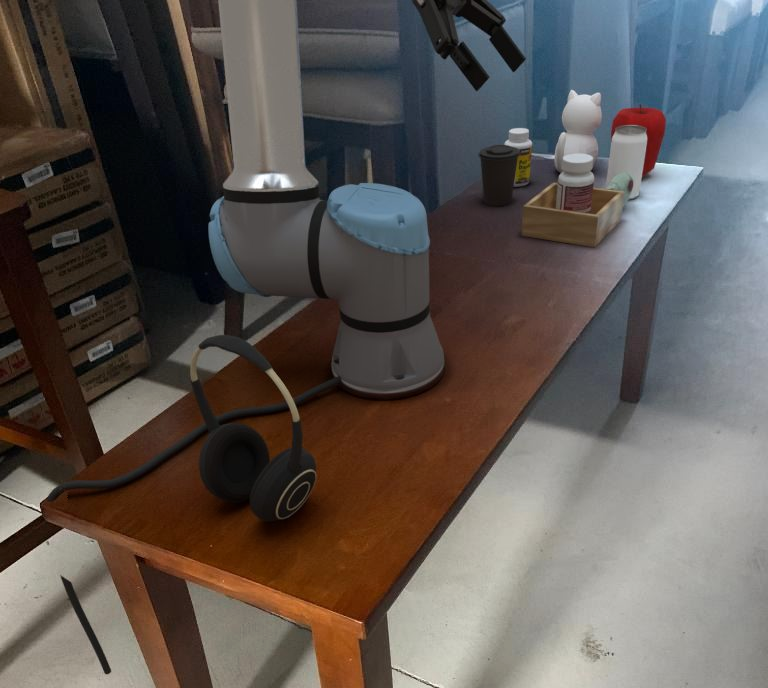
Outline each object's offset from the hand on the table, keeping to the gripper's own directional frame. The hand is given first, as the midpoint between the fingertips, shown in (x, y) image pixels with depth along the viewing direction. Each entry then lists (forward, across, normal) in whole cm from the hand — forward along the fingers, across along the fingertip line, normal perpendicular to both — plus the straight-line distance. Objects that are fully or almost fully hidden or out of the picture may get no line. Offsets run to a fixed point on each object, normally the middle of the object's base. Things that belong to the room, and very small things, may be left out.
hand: (502, 75), depth 123 cm
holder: (+26, -8, -10) cm, 29 cm away
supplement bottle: (+12, -27, -24) cm, 38 cm away
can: (+28, -28, -9) cm, 40 cm away
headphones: (+26, +80, -11) cm, 85 cm away
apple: (+26, -40, -10) cm, 49 cm away
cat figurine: (+18, -38, -18) cm, 46 cm away
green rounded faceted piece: (+29, -20, -7) cm, 36 cm away
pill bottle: (+26, -8, -10) cm, 29 cm away
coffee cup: (+13, -16, -24) cm, 31 cm away
